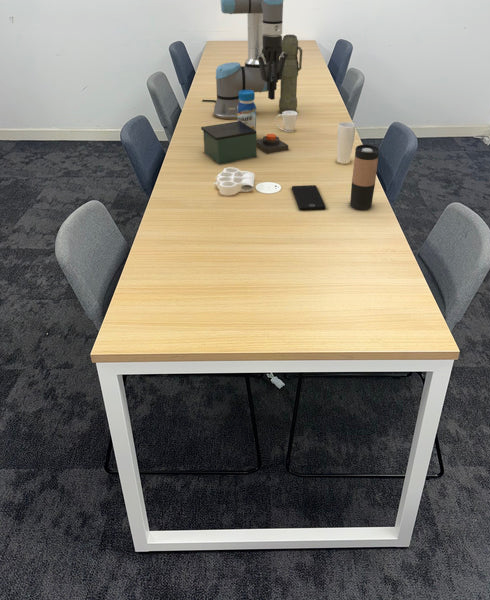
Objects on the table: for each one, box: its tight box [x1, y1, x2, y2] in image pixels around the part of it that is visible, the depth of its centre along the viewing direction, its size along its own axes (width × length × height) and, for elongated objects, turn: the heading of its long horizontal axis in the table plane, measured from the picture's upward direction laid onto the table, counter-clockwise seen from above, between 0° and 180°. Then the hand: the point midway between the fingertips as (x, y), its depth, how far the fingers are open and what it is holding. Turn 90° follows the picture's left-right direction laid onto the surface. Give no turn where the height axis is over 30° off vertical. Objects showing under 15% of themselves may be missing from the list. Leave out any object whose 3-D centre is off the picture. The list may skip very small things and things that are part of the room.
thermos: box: [278, 34, 304, 114], centre depth 264 cm, size 9×12×35 cm
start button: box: [265, 133, 277, 140], centre depth 230 cm, size 4×4×2 cm
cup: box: [274, 111, 299, 133], centre depth 249 cm, size 7×10×8 cm
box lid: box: [200, 120, 257, 140], centre depth 219 cm, size 18×15×1 cm
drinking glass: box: [336, 121, 356, 165], centre depth 216 cm, size 7×7×15 cm
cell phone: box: [291, 184, 327, 211], centre depth 191 cm, size 9×18×1 cm, turn 7°
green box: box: [202, 130, 257, 165], centre depth 222 cm, size 17×15×10 cm
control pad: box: [256, 135, 289, 155], centre depth 231 cm, size 12×10×4 cm
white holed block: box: [213, 166, 256, 197], centre depth 199 cm, size 3×18×15 cm
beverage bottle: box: [237, 90, 258, 132], centre depth 236 cm, size 8×8×20 cm
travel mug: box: [349, 144, 380, 211], centre depth 181 cm, size 8×8×20 cm
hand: (271, 98), depth 222 cm, fingers closed
